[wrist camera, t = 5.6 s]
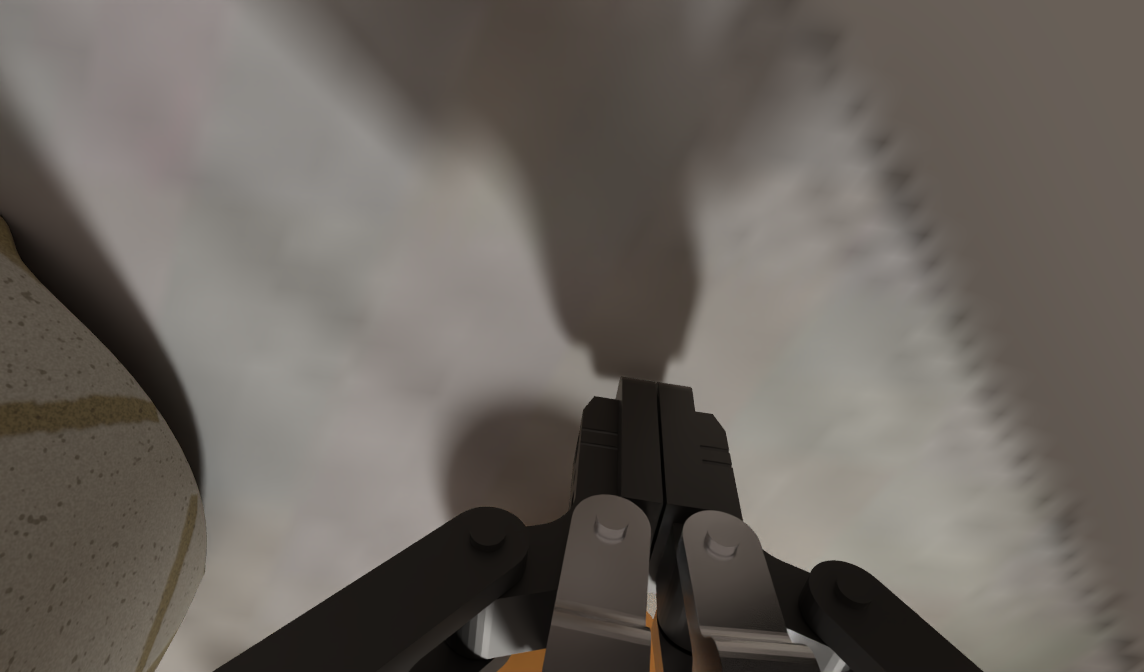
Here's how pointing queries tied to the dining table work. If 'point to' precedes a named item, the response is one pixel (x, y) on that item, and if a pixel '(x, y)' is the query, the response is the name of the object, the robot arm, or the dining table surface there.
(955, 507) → the dining table surface
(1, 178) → the dining table surface
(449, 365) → the dining table surface
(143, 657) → the planter
